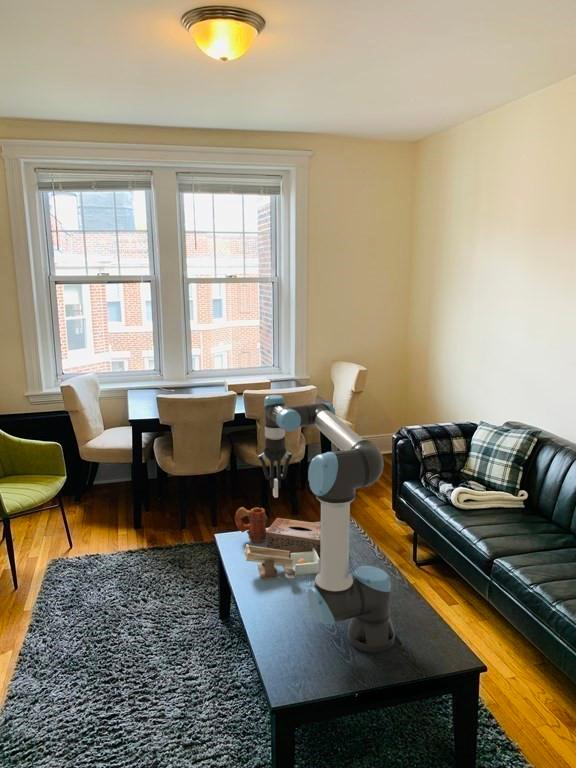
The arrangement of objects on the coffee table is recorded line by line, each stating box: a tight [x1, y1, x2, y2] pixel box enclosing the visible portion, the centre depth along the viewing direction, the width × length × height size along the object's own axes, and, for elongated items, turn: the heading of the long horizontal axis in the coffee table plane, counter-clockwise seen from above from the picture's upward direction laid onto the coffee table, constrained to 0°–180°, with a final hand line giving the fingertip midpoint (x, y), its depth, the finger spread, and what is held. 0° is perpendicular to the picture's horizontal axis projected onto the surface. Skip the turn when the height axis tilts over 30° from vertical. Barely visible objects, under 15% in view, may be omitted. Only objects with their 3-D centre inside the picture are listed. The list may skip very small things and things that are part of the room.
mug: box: [234, 506, 269, 544], centre depth 246 cm, size 15×8×15 cm, turn 84°
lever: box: [244, 543, 295, 579], centre depth 216 cm, size 16×18×3 cm
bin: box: [290, 548, 320, 577], centre depth 223 cm, size 10×11×6 cm
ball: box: [298, 559, 306, 564], centre depth 223 cm, size 4×4×4 cm
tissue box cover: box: [265, 517, 321, 559], centre depth 238 cm, size 26×14×10 cm, turn 72°
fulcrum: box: [257, 560, 280, 581], centre depth 220 cm, size 10×7×7 cm
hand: (275, 496), depth 213 cm, fingers closed
